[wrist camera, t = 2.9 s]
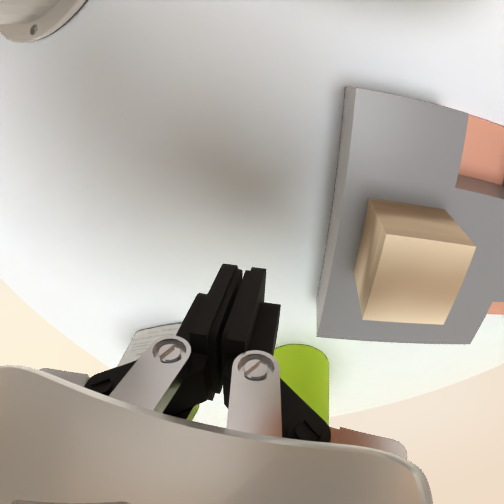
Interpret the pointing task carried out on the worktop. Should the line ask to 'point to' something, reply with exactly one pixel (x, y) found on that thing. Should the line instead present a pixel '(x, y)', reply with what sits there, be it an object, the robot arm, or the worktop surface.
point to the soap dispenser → (306, 375)
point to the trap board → (419, 193)
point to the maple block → (410, 263)
